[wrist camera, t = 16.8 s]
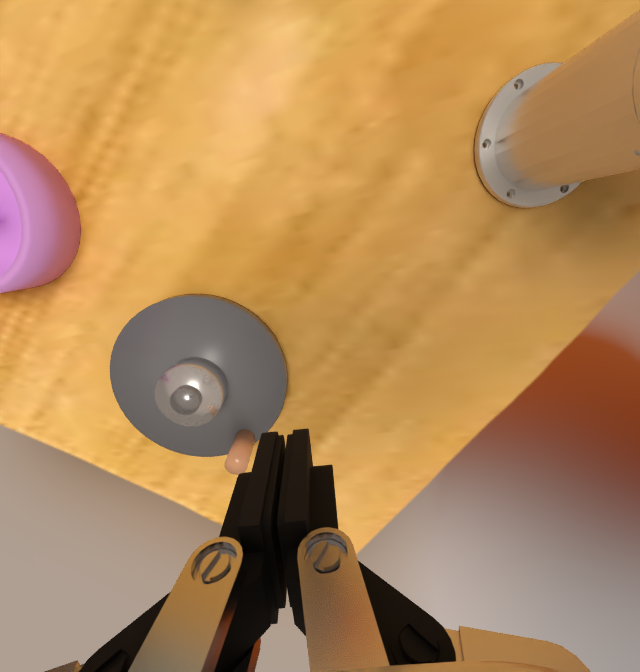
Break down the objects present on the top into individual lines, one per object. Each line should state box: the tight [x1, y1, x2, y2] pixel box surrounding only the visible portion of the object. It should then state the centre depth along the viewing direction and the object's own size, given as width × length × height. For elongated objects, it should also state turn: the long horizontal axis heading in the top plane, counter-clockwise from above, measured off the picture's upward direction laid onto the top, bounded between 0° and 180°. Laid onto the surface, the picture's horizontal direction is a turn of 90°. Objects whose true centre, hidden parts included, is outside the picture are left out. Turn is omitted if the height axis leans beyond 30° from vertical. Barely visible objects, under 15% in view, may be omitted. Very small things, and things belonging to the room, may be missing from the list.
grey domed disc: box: [110, 294, 287, 475], centre depth 36 cm, size 20×20×7 cm
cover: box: [155, 357, 228, 426], centre depth 36 cm, size 7×7×4 cm
